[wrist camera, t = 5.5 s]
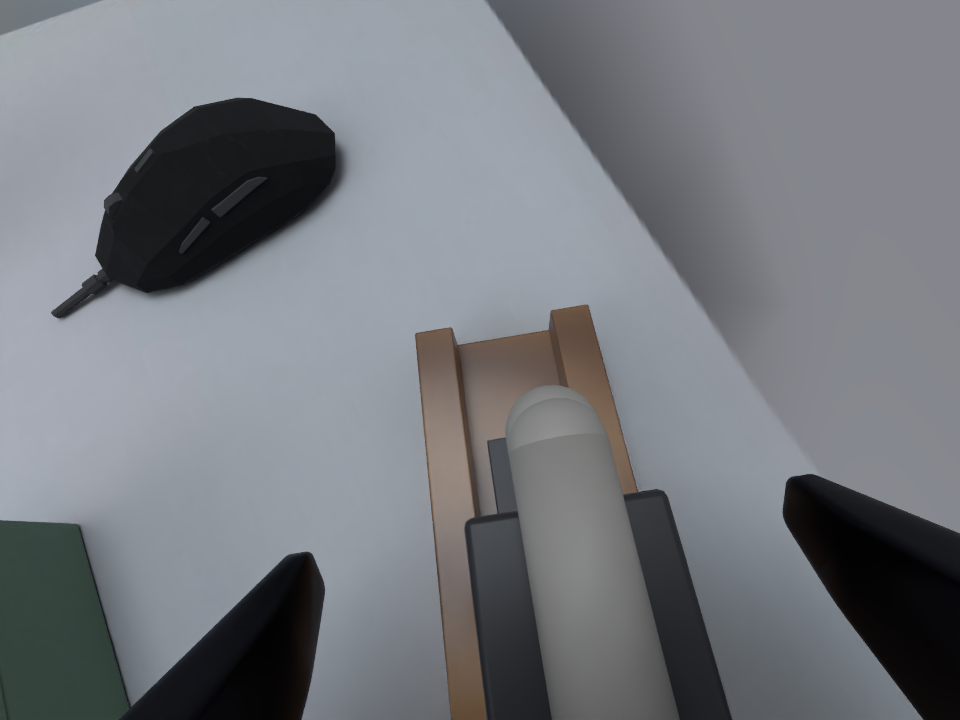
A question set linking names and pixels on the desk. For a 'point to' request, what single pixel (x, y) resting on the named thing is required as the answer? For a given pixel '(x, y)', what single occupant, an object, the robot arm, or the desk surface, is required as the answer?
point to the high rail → (53, 629)
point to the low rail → (465, 458)
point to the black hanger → (582, 581)
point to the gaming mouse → (208, 193)
